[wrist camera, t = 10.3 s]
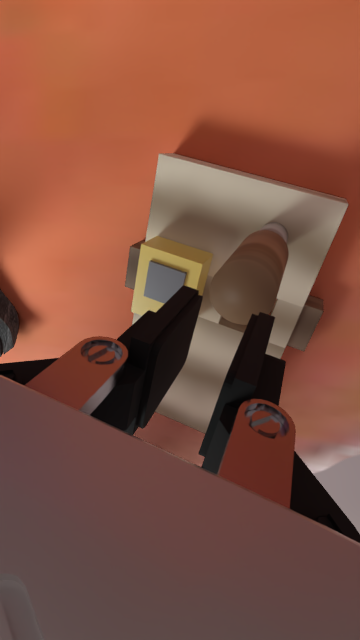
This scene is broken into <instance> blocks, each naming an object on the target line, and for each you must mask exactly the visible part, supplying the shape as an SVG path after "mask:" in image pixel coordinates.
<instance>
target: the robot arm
mask: <svg viewBox="0 0 360 640" xmlns="http://www.w3.org/2000/svg"><path fill="white" fill-rule="evenodd" d="M198 294H199V290H196V289H193V288H191V287H188V286H185V285H183V286H182V287H181V288H180V289H179V290H178V291H177V292H176V293H175V294H174V295H173V296H172V297H171V298H170V299H169V300H168V301H167V302H166V303H165V304H164V305H163V306H162V307H161V308H160V309H159V310H158V311H157V312H153V311H150V310H149V311H147V312H146V313H145V314H144V315H143V316H142V317H140V318H139V319H138V320H137V321H136V322H135V323H134V324H133V325H132V326H131V327H130V328H129V329H128V330H126V331H125V332H124V333H123V334H122V335H121V336H120V337H119V338H118V339H117V340H116V339H112V338H109V337H101V336H99V337H91V338H87V339H84V340H83V341H81V342H79V343H78V344H77V345H75V346H74V347H73V348H72V349H70V350H69V351H68V352H66V353H65V354H64V355H63V356H61V357H60V358H54V359H44V360H34V361H24V362H14V363H4V364H0V640H360V534H359V533H358V531H357V530H356V528H355V527H354V525H353V524H352V523H351V521H350V520H349V519H348V518H347V516H346V515H345V514H344V513H343V511H342V510H341V509H340V508H339V506H338V505H337V504H336V503H335V501H334V500H333V499H332V498H331V496H330V495H329V494H328V492H327V491H326V490H325V489H324V487H323V486H322V485H321V484H320V482H319V481H318V480H317V479H316V477H315V476H314V475H313V474H312V472H311V471H310V470H309V469H308V467H307V466H306V465H305V463H304V462H303V461H302V460H301V458H300V457H299V456H298V455H297V453H296V452H295V451H294V446H295V433H296V431H295V425H294V423H293V421H292V419H291V417H290V416H289V415H288V414H287V413H286V411H284V410H283V409H282V408H280V407H279V406H278V405H279V399H280V393H281V387H282V381H283V375H284V369H285V362H286V361H284V360H281V359H279V358H276V357H273V356H271V355H268V354H265V353H266V350H267V346H268V342H269V339H270V335H271V331H272V328H273V324H274V320H275V317H274V316H271V315H268V314H265V313H262V312H259V315H255V314H252V315H251V317H250V320H249V322H248V324H247V327H246V329H245V332H244V334H243V336H242V339H241V341H240V343H239V346H238V348H237V351H236V353H235V355H234V358H233V360H232V362H231V365H230V367H229V370H228V372H227V375H226V377H225V380H224V383H223V385H222V388H221V391H220V394H219V397H218V400H217V402H216V405H215V408H214V411H213V414H212V417H211V419H210V422H209V425H208V428H207V431H206V434H205V437H204V439H203V442H202V445H201V448H200V451H199V454H200V455H202V456H204V457H205V459H204V462H203V464H202V467H200V466H197V465H195V464H193V463H191V462H189V461H187V460H185V459H182V458H180V457H178V456H176V455H174V454H172V453H170V452H167V451H165V450H163V449H161V448H159V447H157V446H154V445H152V444H150V443H148V442H146V441H144V440H142V439H139V438H137V437H135V436H133V434H134V433H135V431H136V430H137V428H138V427H141V428H144V427H145V426H146V425H147V423H148V421H149V420H150V418H151V417H152V415H153V414H154V412H155V410H156V409H157V407H158V406H159V404H160V402H161V401H162V399H163V398H164V396H165V395H166V393H167V391H168V390H169V388H170V387H171V385H172V384H173V382H174V380H175V379H176V377H177V376H178V374H179V373H180V371H181V369H182V368H183V366H184V364H185V362H186V359H187V356H188V352H189V348H190V345H191V341H192V337H193V333H194V330H195V326H196V322H197V318H198V315H199V311H200V307H201V303H202V300H203V296H201V295H198Z"/></svg>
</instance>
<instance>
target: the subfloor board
mask: <svg viewBox="0 0 360 640" xmlns="http://www.w3.org/2000/svg"><path fill="white" fill-rule="evenodd" d="M348 205H349V204H348V202H347V200H346V199H344V198H340V197H337V196H333V195H329V194H325V193H322V192H318V191H314V190H310V189H306V188H303V187H299V186H295V185H291V184H288V183H284V182H280V181H276V180H272V179H269V178H265V177H261V176H257V175H254V174H250V173H246V172H242V171H239V170H235V169H231V168H227V167H223V166H220V165H216V164H212V163H208V162H205V161H201V160H197V159H193V158H189V157H186V156H182V155H178V154H174V153H165V154H159V158H158V164H157V171H156V177H155V183H154V190H153V196H152V202H151V209H150V215H149V221H148V228H147V234H146V240H145V241H140V242H138V243H136V244H134V245H132V246H130V252H129V259H128V267H127V274H126V282H125V287H128V288H131V289H134V288H135V282H136V275H137V269H138V262H139V256H140V249H141V244H142V243H144V242H146V241H148V240H150V239H152V238H154V237H156V236H160V237H163V238H166V239H169V240H172V241H175V242H178V243H181V244H184V245H187V246H191V247H194V248H197V249H200V250H203V251H206V252H209V253H212V254H213V257H212V261H211V265H210V268H209V272H208V276H207V280H206V283H205V287H204V291H203V295H202V296H203V300H202V303H201V307H200V311H199V315H198V318H197V322H196V326H195V330H194V333H193V337H192V341H191V345H190V348H189V352H188V356H187V359H186V362H185V364H184V366H183V368H182V369H181V371H180V373H179V374H178V376H177V377H176V379H175V380H174V382H173V384H172V385H171V387H170V388H169V390H168V391H167V393H166V395H165V396H164V398H163V399H162V401H161V402H160V404H159V406H158V407H157V409H156V410H155V412H157V413H159V414H162V415H164V416H166V417H168V418H171V419H173V420H175V421H177V422H180V423H182V424H184V425H187V426H189V427H191V428H193V429H196V430H198V431H200V432H202V433H205V434H206V431H207V428H208V425H209V422H210V419H211V417H212V414H213V411H214V408H215V405H216V402H217V400H218V397H219V394H220V391H221V388H222V385H223V383H224V380H225V377H226V375H227V372H228V370H229V367H230V365H231V362H232V360H233V358H234V355H235V353H236V351H237V348H238V346H239V343H240V341H241V339H242V336H243V334H244V332H245V329H246V327H247V325H242V324H236V323H232V322H230V321H228V320H226V319H225V318H223V317H222V316H221V315H220V314H219V313H218V312H217V311H216V310H215V308H214V307H213V305H212V302H211V299H210V293H209V291H210V284H211V281H212V279H213V277H214V275H215V274H216V273H217V271H218V270H219V269H220V268H221V267H222V266H223V264H224V263H225V262H226V261H227V260H228V258H229V257H230V256H231V255H232V254H233V253H234V251H235V250H236V249H237V248H238V247H239V245H240V244H241V243H242V242H243V241H244V239H245V238H246V237H247V236H249V235H250V234H252V233H253V232H256V231H259V230H260V229H261V228H262V227H263V226H264V225H265V224H267V223H270V222H277V223H280V224H282V225H283V226H284V227H285V228H286V230H287V232H288V241H287V246H288V251H289V256H288V261H287V264H286V268H285V271H284V274H283V278H282V281H281V284H280V288H279V291H278V294H277V300H276V302H275V305H274V308H273V310H272V313H271V316H274V317H275V320H274V324H273V328H272V331H271V335H270V339H269V342H268V346H267V350H266V353H265V354H268V355H271V356H273V357H276V358H279V359H280V358H281V356H282V354H283V352H284V349H285V347H286V345H288V346H290V347H293V348H296V349H299V350H301V351H305V349H306V347H307V345H308V342H309V340H310V338H311V336H312V334H313V332H314V330H315V328H316V326H317V324H318V322H319V320H320V317H321V315H322V313H323V300H322V299H319V298H316V297H313V296H310V295H309V293H310V291H311V288H312V286H313V284H314V282H315V279H316V277H317V275H318V273H319V270H320V268H321V266H322V263H323V261H324V259H325V257H326V254H327V252H328V250H329V248H330V245H331V243H332V241H333V239H334V236H335V234H336V232H337V230H338V227H339V225H340V223H341V220H342V218H343V216H344V214H345V211H346V209H347V207H348ZM140 317H142V316H141V315H139V314H136V313H134V316H133V323H132V325H133V324H134V323H135V322H136V321H137V320H138V319H139V318H140Z"/></svg>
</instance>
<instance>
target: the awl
mask: <svg viewBox="0 0 360 640" xmlns="http://www.w3.org/2000/svg"><path fill="white" fill-rule="evenodd" d="M287 241H288V232H287V230H286V228H285V227H284V226H283V225H282V224H280V223H277V222H270V223H267V224H265V225H264V226H263V227H262V228H261V229H260V230H259V231H256V232H253V233H252V234H250V235H249V236H247V237H246V238H245V239H244V241H243V242H242V243H241V244H240V245H239V247H238V248H237V249H236V250H235V251H234V253H233V254H232V255H231V256H230V257H229V258H228V260H227V261H226V262H225V263H224V264H223V266H222V267H221V268H220V269H219V270H218V271H217V273H216V274H215V275H214V277H213V279H212V281H211V284H210V291H209V293H210V299H211V302H212V305H213V307H214V308H215V310H216V311H217V312H218V313H219V314H220V315H221V316H222V317H223V318H225V319H226V320H228V321H230V322H232V323H236V324H242V325H247V324H248V322H249V320H250V317H251V315H252V314H255V315H259V312H262V313H265V314H268V315H269V313H270V312H271V311H272V309H273V307H274V304H275V301H276V298H277V294H278V291H279V288H280V284H281V281H282V278H283V274H284V271H285V268H286V264H287V261H288V256H289V251H288V246H287Z"/></svg>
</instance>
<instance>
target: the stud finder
mask: <svg viewBox="0 0 360 640" xmlns="http://www.w3.org/2000/svg"><path fill="white" fill-rule="evenodd" d="M212 257H213V254H212V253H209V252H206V251H203V250H200V249H197V248H194V247H191V246H187V245H184V244H181V243H178V242H175V241H172V240H169V239H166V238H163V237H160V236H156V237H154V238H152V239H150V240H148V241H146V242H144V243H142V244H141V249H140V256H139V262H138V269H137V275H136V282H135V288H134V295H133V301H132V308H131V312H133V313H136V314H139V315H141V316H143V315H144V314H145V313H146V312H147V311H149V310H150V311H153V312H157V311H158V310H159V309H160V308H161V307H162V306H163V305H164V304H165V303H166V302H167V301H168V300H169V299H170V298H171V297H172V296H173V295H174V294H175V293H176V292H177V291H178V290H179V289H180V288H181V287H182V286H183V285H185V286H188V287H191V288H193V289H196V290H199V294H198V295H201V296H202V295H203V291H204V287H205V283H206V280H207V276H208V272H209V268H210V265H211V261H212Z"/></svg>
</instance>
